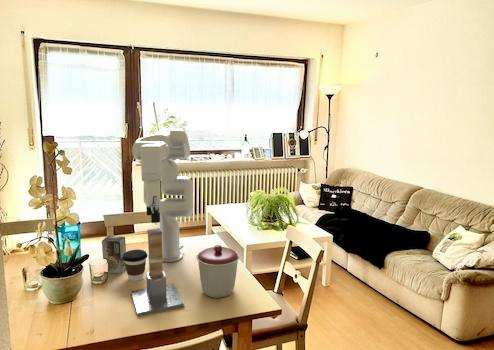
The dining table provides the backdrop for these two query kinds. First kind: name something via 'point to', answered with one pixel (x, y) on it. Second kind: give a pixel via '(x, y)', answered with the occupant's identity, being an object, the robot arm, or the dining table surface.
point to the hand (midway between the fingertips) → (153, 218)
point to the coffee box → (114, 253)
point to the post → (155, 252)
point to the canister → (218, 270)
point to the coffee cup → (135, 264)
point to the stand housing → (156, 296)
